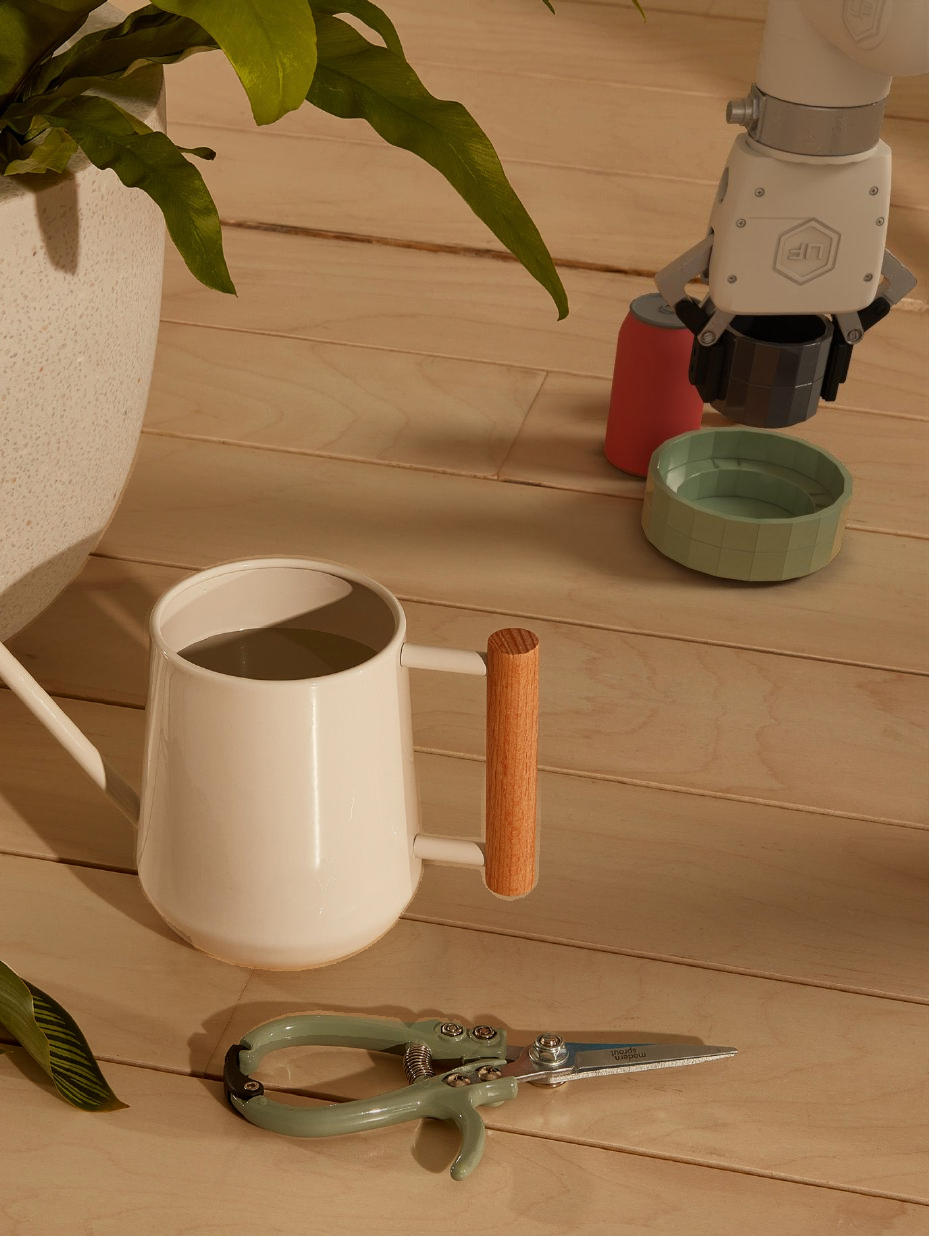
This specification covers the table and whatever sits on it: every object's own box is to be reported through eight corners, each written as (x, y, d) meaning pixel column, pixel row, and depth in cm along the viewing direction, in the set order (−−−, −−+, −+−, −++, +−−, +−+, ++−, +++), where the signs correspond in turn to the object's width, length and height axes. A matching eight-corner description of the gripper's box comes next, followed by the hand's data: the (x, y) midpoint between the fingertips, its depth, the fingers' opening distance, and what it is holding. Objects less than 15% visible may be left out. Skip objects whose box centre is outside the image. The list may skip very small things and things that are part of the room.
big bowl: (808, 487, 124) (821, 425, 121) (863, 587, 113) (879, 521, 110) (624, 490, 124) (632, 427, 121) (662, 590, 113) (672, 524, 110)
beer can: (707, 454, 128) (733, 301, 121) (672, 491, 124) (696, 335, 116) (625, 431, 131) (645, 281, 124) (587, 466, 127) (606, 313, 120)
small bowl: (799, 383, 116) (816, 299, 112) (829, 432, 110) (848, 346, 106) (695, 384, 116) (708, 300, 112) (719, 434, 110) (734, 347, 106)
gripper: (681, 143, 99) (640, 421, 109) (985, 139, 99) (915, 418, 109) (654, 100, 105) (618, 369, 115) (941, 97, 105) (879, 366, 115)
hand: (763, 391), depth 112 cm, fingers closed on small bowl, 7 cm apart
